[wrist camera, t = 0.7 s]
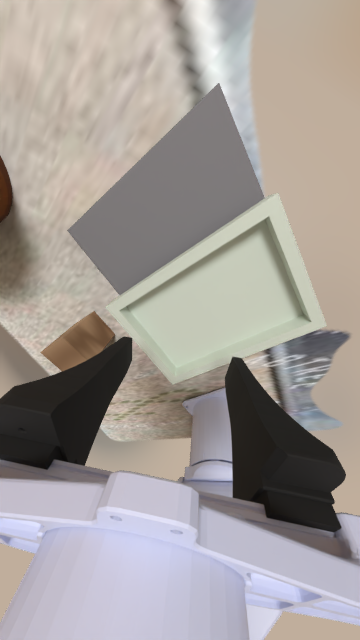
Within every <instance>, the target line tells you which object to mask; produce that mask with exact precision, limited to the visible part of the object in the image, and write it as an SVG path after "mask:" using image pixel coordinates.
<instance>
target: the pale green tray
mask: <svg viewBox="0 0 360 640" xmlns="http://www.w3.org/2000/svg"><path fill="white" fill-rule="evenodd" d="M105 308H106V309H107V310H108V311H109V312H110V313H111V314H112V316H113V317H114V318H115V319H116V320H117V321H118V323H119V324H120V325H121V326H122V327H123V328H124V329H125V331H126V332H127V333H128V334H129V335H130V336H131V337H132V339H133V340H134V341H135V342H136V343H137V344H138V346H139V347H140V348H141V349H142V350H143V351H144V352H145V354H146V355H147V356H148V357H149V358H150V359H151V360H152V362H153V363H154V364H155V365H156V366H157V367H158V369H159V370H160V371H161V372H162V373H163V374H164V375H165V377H166V378H167V379H168V380H169V381H170V382H171V383H172V385H173V384H176V383H179V382H181V381H184V380H186V379H189V378H192V377H194V376H197V375H200V374H202V373H205V372H207V371H210V370H213V369H215V368H218V367H221V366H223V365H226V364H228V363H230V362H231V359H232V356H233V357H238V358H244V357H247V356H249V355H252V354H255V353H257V352H260V351H263V350H265V349H268V348H270V347H273V346H276V345H278V344H281V343H284V342H286V341H289V340H291V339H294V338H297V337H299V336H302V335H305V334H307V333H310V332H312V331H315V330H318V329H320V328H323V327H325V326H327V325H326V322H325V319H324V317H323V314H322V311H321V308H320V306H319V303H318V300H317V298H316V295H315V292H314V290H313V287H312V284H311V281H310V279H309V276H308V273H307V270H306V268H305V265H304V262H303V259H302V257H301V254H300V251H299V248H298V246H297V243H296V240H295V238H294V235H293V232H292V230H291V227H290V224H289V221H288V219H287V216H286V213H285V210H284V208H283V205H282V202H281V199H280V197H279V194H278V193H276V194H273V195H270V196H267V197H266V198H264V199H263V200H261V201H260V202H258V203H257V204H255V205H254V206H252V207H251V208H249V209H248V210H246V211H245V212H244V213H242V214H241V215H239V216H238V217H236V218H235V219H233V220H232V221H230V222H229V223H227V224H226V225H224V226H223V227H221V228H220V229H218V230H217V231H215V232H214V233H212V234H211V235H209V236H208V237H206V238H205V239H203V240H202V241H200V242H199V243H197V244H196V245H194V246H193V247H191V248H190V249H188V250H187V251H185V252H184V253H182V254H181V255H179V256H178V257H176V258H175V259H173V260H172V261H170V262H169V263H167V264H166V265H164V266H163V267H161V268H160V269H158V270H157V271H155V272H154V273H152V274H151V275H149V276H148V277H146V278H145V279H143V280H142V281H140V282H139V283H137V284H136V285H134V286H133V287H131V288H130V289H129V290H127V291H126V292H124V293H123V294H121V295H120V296H118V297H117V298H115V299H114V300H113V301H112V302H111V303H110V304H108V305H107V306H106V307H105Z"/></svg>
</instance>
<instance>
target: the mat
mask: <svg viewBox="0 0 360 640" xmlns="http://www.w3.org/2000/svg"><path fill="white" fill-rule="evenodd" d="M263 199H264V195H263V193H262V190H261V188H260V185H259V183H258V180H257V178H256V175H255V173H254V170H253V168H252V165H251V163H250V160H249V158H248V155H247V152H246V150H245V147H244V145H243V142H242V140H241V137H240V135H239V132H238V130H237V127H236V125H235V122H234V120H233V117H232V115H231V112H230V109H229V107H228V104H227V102H226V99H225V97H224V94H223V92H222V89H221V87H220V84H219V83H218V84H217V85H216V86H215V87H214V88H213V89H212V90H211V91H210V92H209V93H208V94H207V95H206V96H205V97H204V98H203V99H202V100H201V101H200V102H199V103H198V104H197V105H196V106H195V107H194V108H193V109H192V110H191V111H190V112H189V113H187V114H186V115H185V116H184V117H183V118H182V119H181V120H180V121H179V122H178V123H177V124H176V125H175V126H174V127H173V128H172V129H171V130H170V131H169V132H168V133H167V134H166V135H165V136H164V137H163V138H162V139H161V140H160V141H159V142H158V143H157V144H156V145H155V146H154V147H153V148H152V149H151V150H150V151H148V152H147V153H146V154H145V155H144V156H143V157H142V158H141V159H140V160H139V161H138V162H137V163H136V164H135V165H134V166H133V167H132V168H131V169H130V170H129V171H128V172H127V173H126V174H125V175H124V176H123V177H122V178H121V179H120V180H119V181H118V182H117V183H116V184H115V185H114V186H113V187H112V188H111V189H109V190H108V191H107V192H106V193H105V194H104V195H103V196H102V197H101V198H100V199H99V200H98V201H97V202H96V203H95V204H94V205H93V206H92V207H91V208H90V209H89V210H88V211H87V212H86V213H85V214H84V215H83V216H82V217H81V218H80V219H79V220H78V221H77V222H76V223H75V224H74V225H73V226H72V227H71V228H69V229H68V230H67V231H68V232H69V233H70V234H71V236H72V237H73V238H74V239H75V241H76V242H77V243H78V244H79V246H80V247H81V248H82V249H83V250H84V252H85V253H86V254H87V255H88V257H89V258H90V259H91V260H92V262H93V263H94V264H95V265H96V266H97V268H98V269H99V270H100V271H101V273H102V274H103V275H104V276H105V278H106V279H107V280H108V281H109V282H110V284H111V285H112V286H113V287H114V289H115V290H116V291H117V292H118V294H119V295H121V294H123V293H124V292H126V291H127V290H129V289H130V288H131V287H133V286H134V285H136V284H137V283H139V282H140V281H142V280H143V279H145V278H146V277H148V276H149V275H151V274H152V273H154V272H155V271H157V270H158V269H160V268H161V267H163V266H164V265H166V264H167V263H169V262H170V261H172V260H173V259H175V258H176V257H178V256H179V255H181V254H182V253H184V252H185V251H187V250H188V249H190V248H191V247H193V246H194V245H196V244H197V243H199V242H200V241H202V240H203V239H205V238H206V237H208V236H209V235H211V234H212V233H214V232H215V231H217V230H218V229H220V228H221V227H223V226H224V225H226V224H227V223H229V222H230V221H232V220H233V219H235V218H236V217H238V216H239V215H241V214H242V213H244V212H245V211H246V210H248V209H249V208H251V207H252V206H254V205H255V204H257V203H258V202H260V201H261V200H263Z"/></svg>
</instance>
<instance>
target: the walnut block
mask: <svg viewBox="0 0 360 640" xmlns="http://www.w3.org/2000/svg"><path fill="white" fill-rule="evenodd" d="M114 335H115V334H114V333H113V331H112V330H111V329H110V328H109V327H108V326H107V325H106V324H105V323H104V321H103V320H102V319H101V318H100V317H99V316H98V315H97V314H96V313H95V311H94V312H92V313H91V314H89V315H88V316H86V317H85V318H83V319H82V320H80V321H79V322H77V323H76V324H74V325H73V326H72V327H71V328H69V329H68V330H67V331H66V332H65V333H63V334H62V335H61V336H60V337H59V338H57V339H56V340H55V341H54V342H53V343H51V344H50V345H49V346H48V347H46V348H45V349H44V350H43V351H42V352H41V353H42V354H43V355H44V356H45V357H46V358H47V359H49V360H50V361H51V362H52V363H53V364H54V365H55V366H57V367H58V368H59V369H60V370H61V371H65V370H67V369H69V368H72V367H74V366H76V365H78V364H80V363H82V362H84V361H86V360H88V359H90V358H92V357H93V356H95V355H97V354H98V353H100V352H102V351H103V349H104V348H105V347H106V345H107V344H108V343H109V341H110V340H111V339H112V338H113V336H114Z"/></svg>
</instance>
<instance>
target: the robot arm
mask: <svg viewBox="0 0 360 640" xmlns="http://www.w3.org/2000/svg"><path fill="white" fill-rule="evenodd" d="M131 361H132V338H129V337H122V338H121V339H119V340H118V341H117V342H115V343H114V344H112V345H111V346H109V347H108V348H106V349H105V350H103V351H102V352H100V353H98V354H97V355H95V356H93V357H92V358H90V359H88V360H86V361H84V362H82V363H80V364H78V365H76V366H74V367H72V368H69V369H67V370H65V371H62V372H60V373H57V374H55V375H52V376H49V377H46V378H43V379H40V380H37V381H33V382H29V383H26V384H22V385H19V386H14V387H13V388H12V389H11V390H10V391H8V392H7V393H6V394H5V395H4V396H3V397H2V398H1V399H0V543H1V544H5V545H8V546H11V547H14V548H17V549H21V550H24V551H27V552H30V553H34V554H35V556H34V557H33V560H32V561H31V563H30V565H29V567H28V569H27V571H26V573H25V575H24V577H23V579H22V581H21V583H20V585H19V587H18V589H17V591H16V593H15V595H14V597H13V599H12V601H11V603H10V605H9V607H8V609H7V610H6V612H5V614H4V616H3V618H2V621H1V622H0V640H264V639H265V637H266V636H267V634H268V633H269V632H270V630H271V629H272V627H273V626H274V624H275V623H276V622H277V620H278V619H279V617H280V616H281V614H282V613H283V611H286V612H291V613H297V614H303V615H309V616H314V617H319V618H325V619H330V620H335V621H340V622H344V623H349V624H354V625H359V626H360V516H357V515H352V514H348V513H335V511H334V509H333V506H332V504H334V499H333V496H332V494H331V492H332V491H333V490H334V489H335V488H337V487H338V486H339V485H340V484H341V483H342V482H343V481H344V480H345V476H346V474H345V471H344V469H343V467H342V465H341V463H340V462H339V460H338V458H337V456H336V454H335V453H334V451H333V450H332V449H331V448H329V447H328V446H327V445H325V444H324V443H323V442H321V441H320V440H318V439H317V438H316V437H314V436H313V435H312V434H310V433H309V432H308V431H307V430H305V429H304V428H303V427H302V426H301V425H299V424H298V423H297V422H296V421H295V420H294V419H292V418H291V417H290V416H289V415H288V414H287V413H286V412H285V411H284V410H283V409H282V408H281V407H280V406H279V405H278V404H277V403H276V402H275V401H274V400H273V399H272V398H271V397H270V396H269V395H268V393H267V392H266V391H265V390H264V389H263V387H262V386H261V385H260V384H259V382H258V381H257V380H256V378H255V377H254V376H253V374H252V373H251V371H250V370H249V369H248V367H247V366H246V364H245V363H244V361H243V360H242V358H238V357H233V356H232V359H231V362H230V365H229V368H228V371H227V374H226V377H225V388H222V389H219V390H216V391H213V392H210V393H207V394H204V395H201V396H198V397H195V398H192V399H189V400H186V401H184V402H183V404H182V405H183V406H184V407H185V409H186V410H187V411H188V412H189V413H190V414H191V415H192V416H193V421H192V437H191V452H190V467H185V477H180V478H179V479H178V481H172V480H168V479H164V478H159V477H154V476H150V475H145V474H140V473H135V472H131V471H117V472H110V471H106V470H101V469H97V468H92V467H87V466H85V463H86V461H87V458H88V455H89V452H90V450H91V447H92V445H93V442H94V439H95V437H96V434H97V432H98V430H99V427H100V425H101V422H102V420H103V418H104V415H105V413H106V411H107V409H108V406H109V404H110V402H111V400H112V398H113V396H114V395H115V393H116V391H117V389H118V388H119V386H120V384H121V382H122V380H123V379H124V377H125V375H126V373H127V371H128V369H129V366H130V364H131Z"/></svg>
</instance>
